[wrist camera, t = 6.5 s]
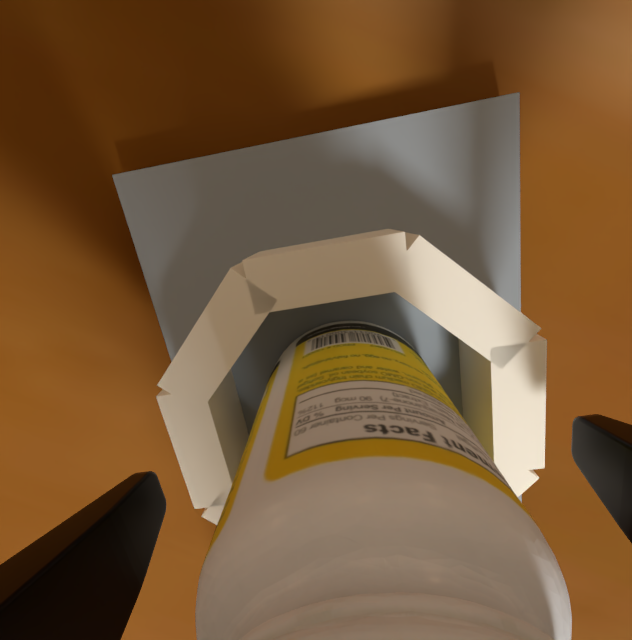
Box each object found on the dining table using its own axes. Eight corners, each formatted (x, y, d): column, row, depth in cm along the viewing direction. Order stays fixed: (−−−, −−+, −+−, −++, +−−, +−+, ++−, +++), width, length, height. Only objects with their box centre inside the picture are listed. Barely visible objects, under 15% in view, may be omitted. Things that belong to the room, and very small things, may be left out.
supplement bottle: (342, 484, 11) (377, 1177, 3) (237, 388, 10) (-97, 1010, 2) (462, 396, 10) (996, 1109, 2) (355, 281, 9) (551, 731, 1)
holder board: (509, 531, 12) (559, 617, 10) (246, 559, 13) (225, 645, 11) (502, 103, 9) (581, 51, 6) (129, 178, 9) (50, 163, 7)
